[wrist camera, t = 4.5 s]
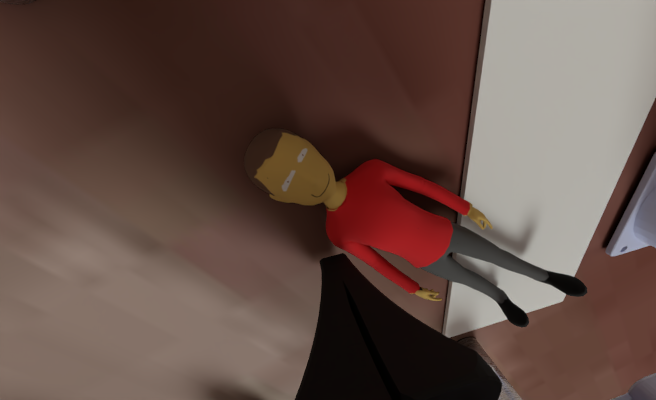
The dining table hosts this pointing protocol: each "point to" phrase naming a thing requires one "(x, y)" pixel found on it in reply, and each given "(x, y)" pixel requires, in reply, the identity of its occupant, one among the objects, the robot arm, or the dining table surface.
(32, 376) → the dining table surface
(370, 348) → the robot arm
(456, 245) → the person figure
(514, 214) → the mat
